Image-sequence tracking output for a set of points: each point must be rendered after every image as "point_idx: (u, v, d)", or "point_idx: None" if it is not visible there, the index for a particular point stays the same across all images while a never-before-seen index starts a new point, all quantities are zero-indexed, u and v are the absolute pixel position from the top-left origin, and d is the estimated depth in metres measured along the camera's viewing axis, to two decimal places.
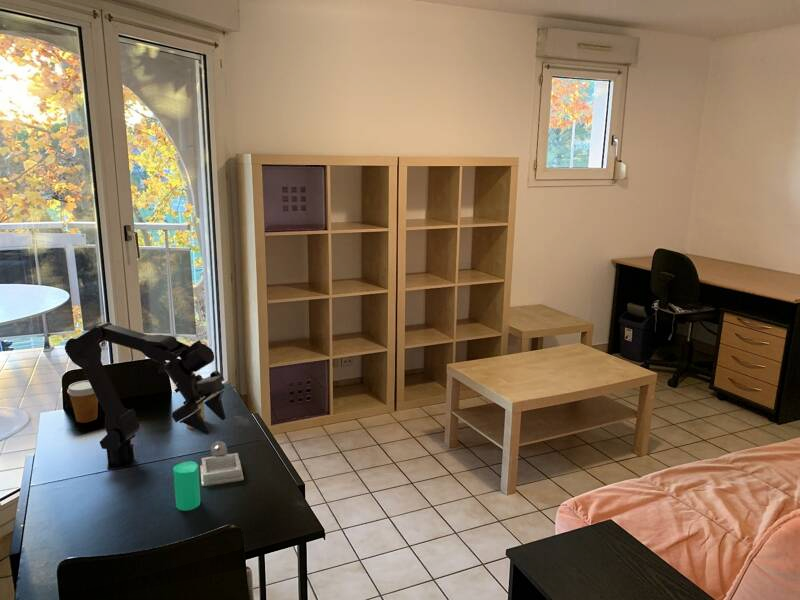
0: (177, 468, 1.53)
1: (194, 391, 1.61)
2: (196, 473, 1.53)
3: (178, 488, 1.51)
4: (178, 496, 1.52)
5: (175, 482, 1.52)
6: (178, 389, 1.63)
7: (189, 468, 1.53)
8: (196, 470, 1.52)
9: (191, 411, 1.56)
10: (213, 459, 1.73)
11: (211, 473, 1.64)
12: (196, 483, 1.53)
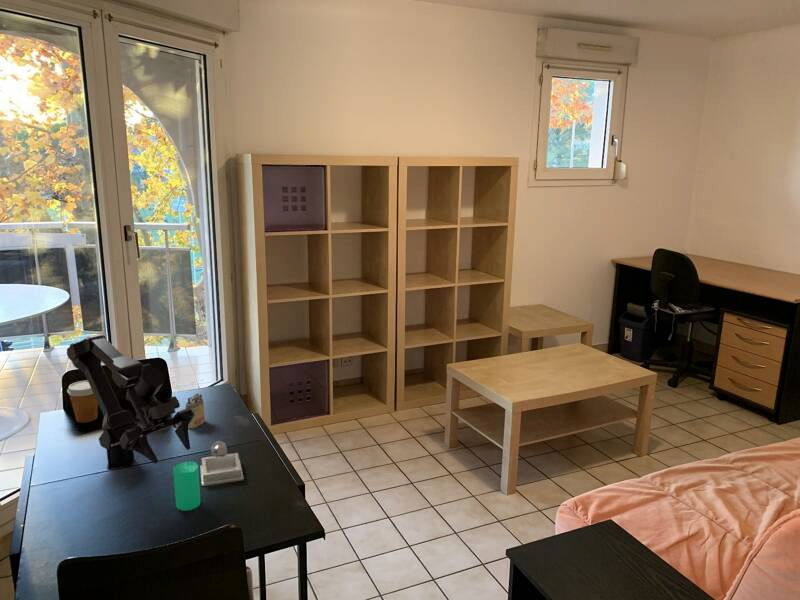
0: (177, 468, 1.53)
1: (146, 417, 1.55)
2: (196, 473, 1.53)
3: (177, 488, 1.51)
4: (178, 496, 1.52)
5: (175, 482, 1.52)
6: (137, 415, 1.58)
7: (189, 468, 1.53)
8: (196, 470, 1.52)
9: (130, 437, 1.49)
10: (213, 459, 1.73)
11: (211, 473, 1.64)
12: (196, 483, 1.53)
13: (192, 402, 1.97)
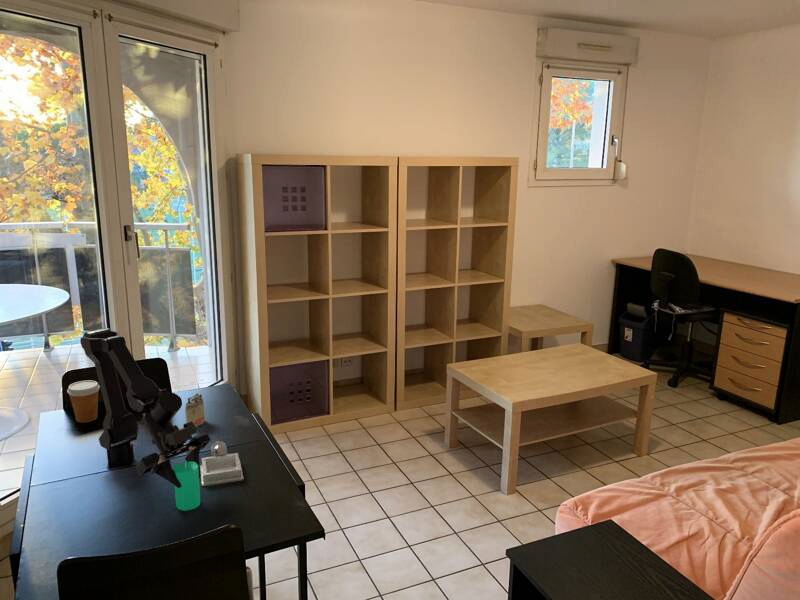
0: (177, 468, 1.53)
1: (162, 443, 1.52)
2: (196, 473, 1.53)
3: (178, 488, 1.51)
4: (178, 496, 1.52)
5: None
6: (153, 440, 1.55)
7: (189, 468, 1.53)
8: (196, 470, 1.52)
9: (147, 464, 1.46)
10: (213, 459, 1.73)
11: (211, 473, 1.64)
12: (196, 483, 1.53)
13: (192, 402, 1.97)
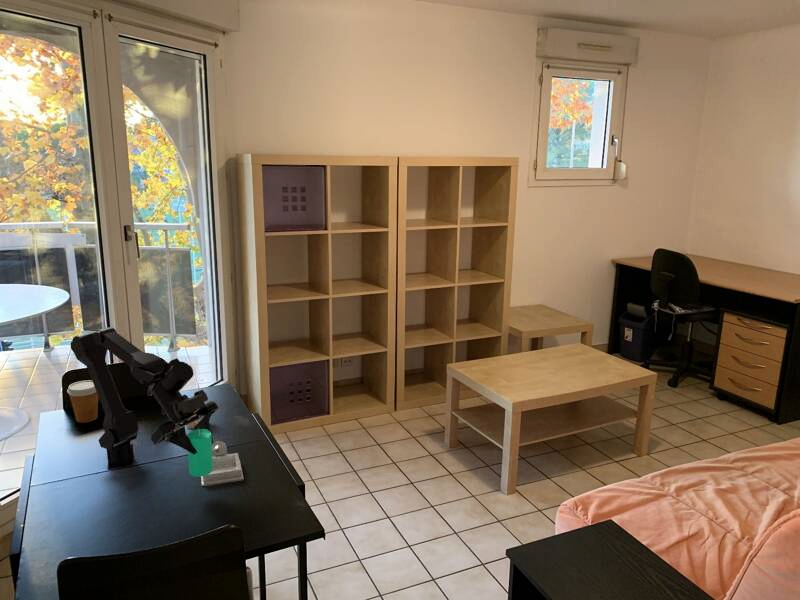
0: (190, 436, 1.56)
1: (175, 411, 1.54)
2: (210, 439, 1.56)
3: (193, 455, 1.55)
4: (193, 462, 1.55)
5: None
6: (163, 410, 1.57)
7: (202, 435, 1.57)
8: (210, 436, 1.56)
9: (165, 432, 1.49)
10: (213, 459, 1.73)
11: (211, 473, 1.64)
12: (210, 449, 1.57)
13: None
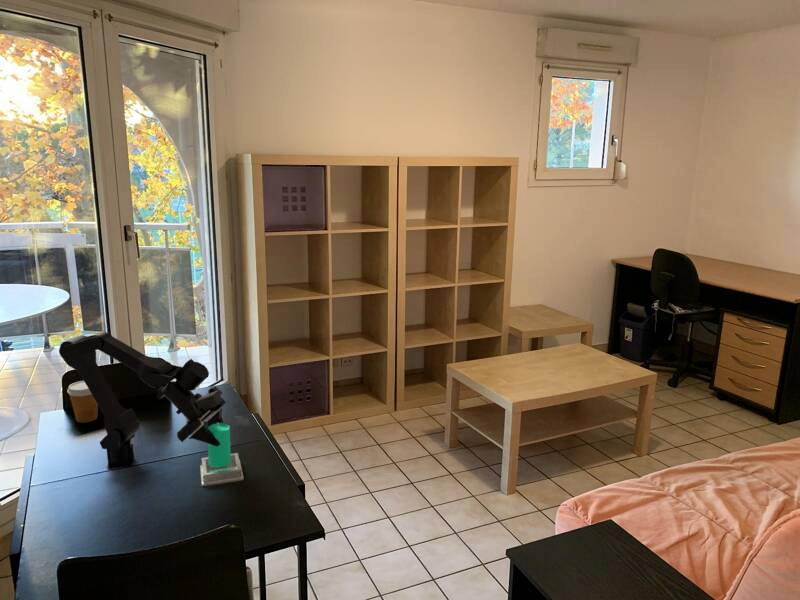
0: (210, 430, 1.66)
1: (195, 409, 1.63)
2: (229, 431, 1.68)
3: (216, 447, 1.65)
4: (216, 454, 1.66)
5: None
6: (179, 410, 1.65)
7: (221, 428, 1.67)
8: (229, 428, 1.68)
9: (194, 428, 1.58)
10: None
11: (211, 473, 1.64)
12: (229, 440, 1.68)
13: None
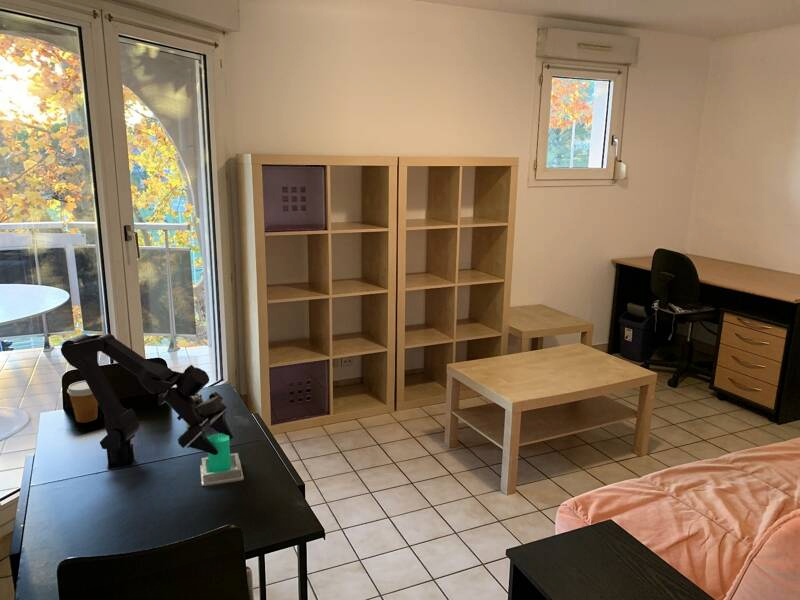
0: (210, 441, 1.66)
1: (196, 415, 1.64)
2: None
3: (217, 458, 1.66)
4: (217, 465, 1.66)
5: None
6: (180, 416, 1.65)
7: (220, 438, 1.68)
8: None
9: (195, 433, 1.58)
10: None
11: (211, 473, 1.64)
12: None
13: None
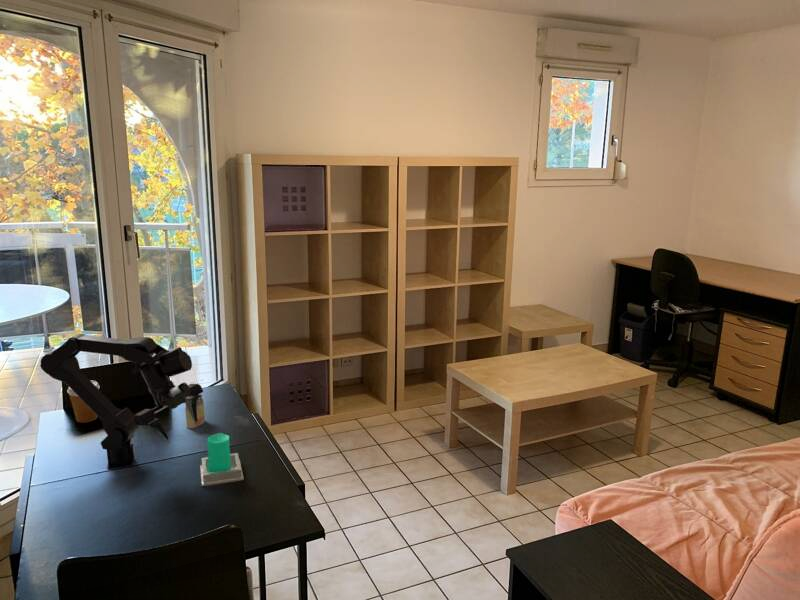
0: (210, 441, 1.66)
1: (158, 399, 1.65)
2: None
3: (217, 458, 1.65)
4: (217, 465, 1.66)
5: (213, 453, 1.65)
6: (150, 390, 1.68)
7: (220, 438, 1.68)
8: None
9: (144, 423, 1.62)
10: None
11: (211, 473, 1.64)
12: None
13: None
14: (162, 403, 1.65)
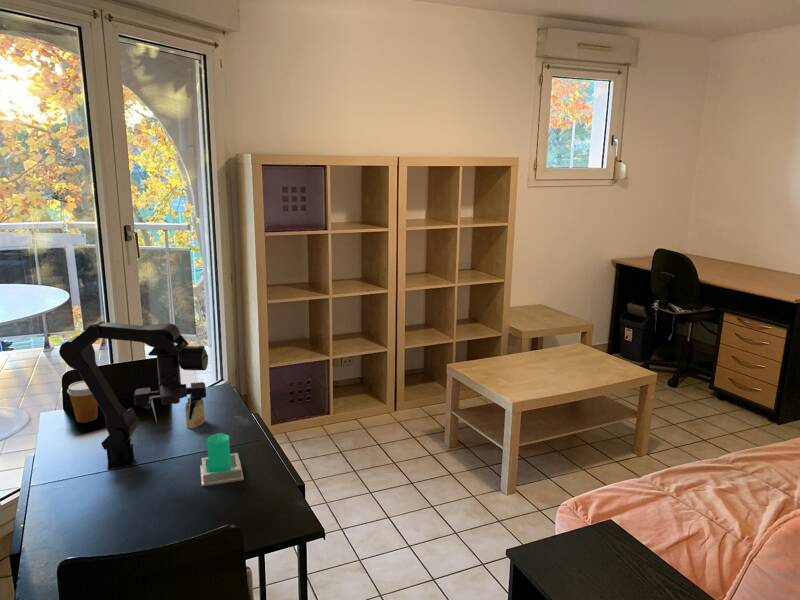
0: (210, 441, 1.66)
1: None
2: None
3: (217, 458, 1.65)
4: (217, 465, 1.66)
5: (213, 453, 1.65)
6: None
7: (220, 438, 1.68)
8: None
9: (135, 403, 1.65)
10: None
11: (211, 473, 1.64)
12: None
13: None
14: (160, 392, 1.66)
